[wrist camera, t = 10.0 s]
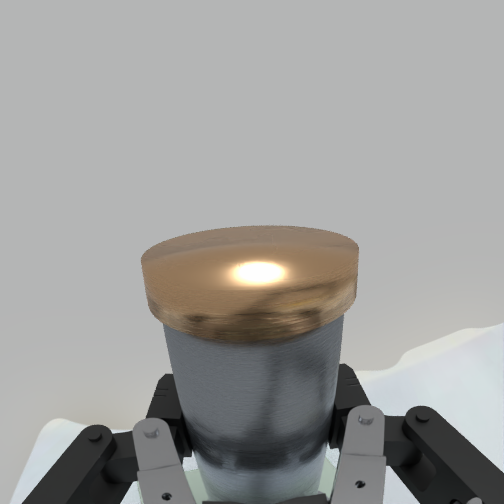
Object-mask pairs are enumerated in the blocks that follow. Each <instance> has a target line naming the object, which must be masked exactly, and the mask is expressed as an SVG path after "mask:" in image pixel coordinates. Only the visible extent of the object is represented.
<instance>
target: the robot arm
mask: <svg viewBox="0 0 504 504" xmlns="http://www.w3.org/2000/svg"><path fill="white" fill-rule="evenodd" d="M328 443H329V446H330V449H334V448H338V449H339V452H340V455H339V459H338V464H337V468H336V473H335V477H334V482H333V486H332V490H331V494H330V498H329V500H327V498H326V493H323V494H317V495H310V496H302V497H295V498H292V499H289V500H286V501H282V502H279V503H276V504H383V495H384V484H385V472H386V466H390V467H391V468H392V469H393V471H394V472H395V473H396V474H397V476H398V477H399V478H400V479H401V480H402V482H403V483H404V484H405V485H406V487H407V488H408V489H409V490H410V492H411V493H412V494H413V495H414V497H415V498H416V499H417V500H418V501H419V503H420V504H504V473H503V472H502V471H501V470H500V469H499V468H498V467H496V466H495V465H494V464H493V463H492V462H491V461H490V460H489V459H488V458H487V457H486V456H484V455H483V454H482V453H481V452H480V451H479V450H478V449H477V448H476V447H475V446H473V445H472V444H471V443H470V442H469V441H468V440H467V439H466V438H465V437H464V436H463V435H461V434H460V433H459V432H458V431H457V430H456V429H455V428H454V427H453V426H452V425H450V424H449V423H448V422H447V421H446V420H445V419H444V418H443V417H442V416H441V415H439V414H438V413H437V412H436V411H435V410H434V409H432V408H430V407H427V406H416V407H413V408H411V409H410V410H408V412H407V413H406V415H405V416H386V415H384V414H383V412H382V411H381V410H380V409H379V408H377V407H374V406H371V404H370V402H369V400H368V398H367V396H366V394H365V392H364V390H363V388H362V386H361V385H360V382H359V380H358V379H357V377H356V375H355V373H354V371H353V369H352V368H350V367H349V366H347V365H346V364H339V370H338V378H337V386H336V393H335V400H334V407H333V414H332V420H331V426H330V432H329V438H328ZM192 450H193V449H192V445H191V442H190V438H189V435H188V431H187V428H186V424H185V420H184V416H183V413H182V409H181V405H180V401H179V397H178V393H177V388H176V384H175V380H174V376H173V374H165V375H164V376H163V377H162V378H161V379H160V380H159V381H158V384H157V387H156V390H155V392H154V397H153V398H152V401H151V404H150V407H149V410H148V413H147V415H146V419H144V420H141V421H139V422H138V423H137V424H136V425H135V426H134V428H133V430H132V431H129V432H123V433H115V434H112V432H111V430H110V429H109V428H108V427H106V426H103V425H92V426H89V427H86V428H85V429H83V430H82V431H81V433H80V434H79V435H78V436H77V437H76V439H75V440H74V441H73V442H72V443H71V445H70V446H69V447H68V448H67V449H66V450H65V452H64V453H63V454H62V455H61V456H60V458H59V459H58V460H57V461H56V463H55V464H54V465H53V466H52V467H51V469H50V470H49V471H48V472H47V473H46V475H45V476H44V477H43V478H42V479H41V481H40V482H39V483H38V484H37V486H36V487H35V488H34V489H33V490H32V492H31V493H30V494H29V495H28V497H27V498H26V499H25V500H24V501H23V503H22V504H120V503H121V501H122V500H123V498H124V496H125V495H126V493H127V491H128V489H129V488H130V486H131V484H132V483H133V482H134V481H139V486H140V490H141V495H142V499H143V503H144V504H196V501H195V499H194V496H193V494H192V491H191V488H190V486H189V483H188V481H187V478H186V475H185V472H184V470H183V467H182V464H183V458H184V457H192ZM202 504H244V503H239V502H233V501H202Z"/></svg>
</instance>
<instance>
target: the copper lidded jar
mask: <svg viewBox="0 0 504 504" xmlns="http://www.w3.org/2000/svg"><path fill="white" fill-rule="evenodd" d="M358 255H359V247H358V245H357V244H356V243H355V242H354V241H353V240H351V239H350V238H348V237H346V236H343V235H341V234H338V233H334V232H330V231H326V230H320V229H314V228H306V227H295V226H243V227H230V228H221V229H214V230H207V231H202V232H196V233H191V234H187V235H183V236H179V237H175V238H172V239H169V240H166V241H163V242H161V243H159V244H157V245H155V246H153V247H151V248H150V249H148V250H147V251H146V252H145V253H144V254H143V256H142V257H141V264H142V271H143V277H144V283H145V290H146V295H147V300H148V306H149V309H150V311H151V312H152V314H153V315H154V316H155V317H156V318H157V319H158V320H159V321H160V322H162V323H163V326H164V332H165V337H166V343H167V347H168V352H169V357H170V362H171V366H172V371H173V376H174V380H175V384H176V388H177V393H178V397H179V401H180V405H181V409H182V413H183V416H184V420H185V424H186V428H187V431H188V435H189V438H190V442H191V445H192V449H193V452H194V455H195V459H196V462H197V465H198V468H199V472H200V475H201V478H202V481H203V484H204V487H205V490H206V493H207V496H208V498H209V501H233V502H239V503H244V504H276V503H279V502H282V501H286V500H289V499H292V498H295V497H302V496H310V495H317V493H318V488H319V484H320V479H321V475H322V470H323V465H324V460H325V455H326V449H327V444H328V438H329V432H330V426H331V420H332V414H333V407H334V400H335V393H336V386H337V378H338V370H339V360H340V351H341V342H342V330H343V319H344V313H345V312H346V311H347V310H348V309H349V308H350V307H351V306H352V304H353V303H354V301H355V298H356V290H357V276H358Z"/></svg>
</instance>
